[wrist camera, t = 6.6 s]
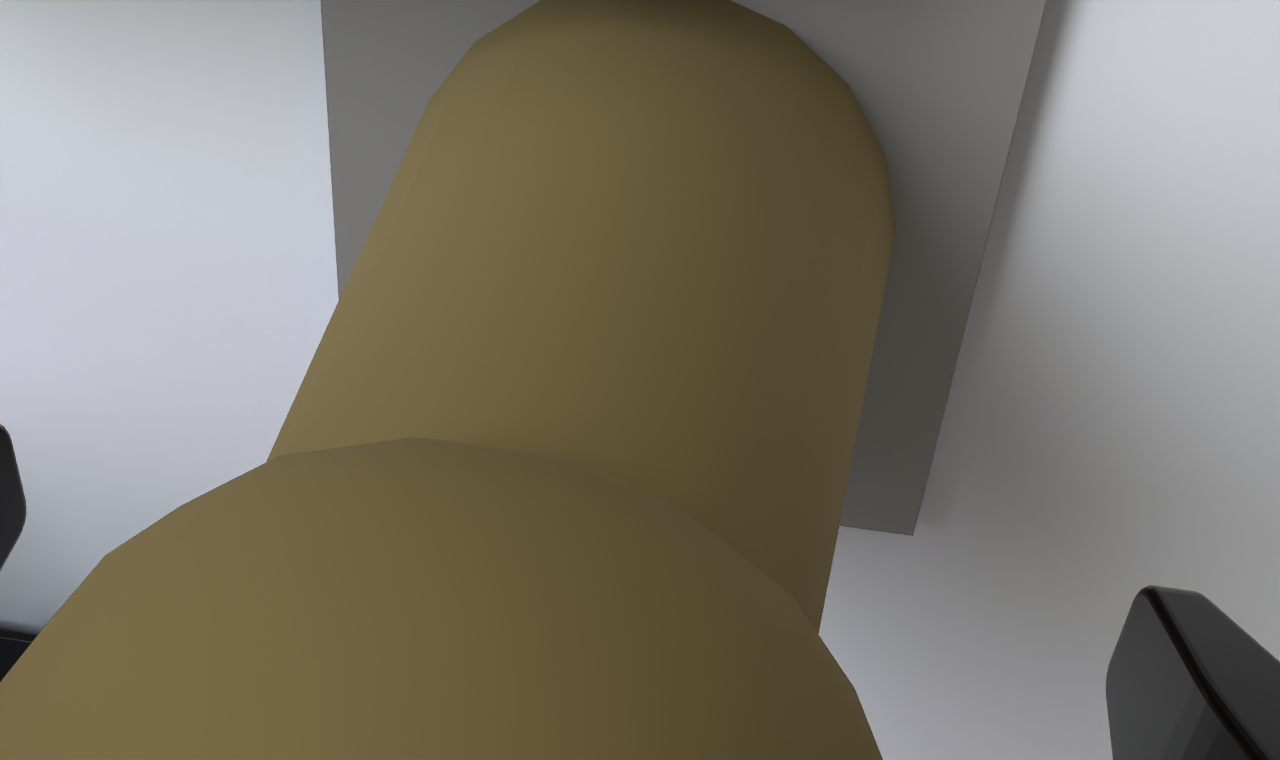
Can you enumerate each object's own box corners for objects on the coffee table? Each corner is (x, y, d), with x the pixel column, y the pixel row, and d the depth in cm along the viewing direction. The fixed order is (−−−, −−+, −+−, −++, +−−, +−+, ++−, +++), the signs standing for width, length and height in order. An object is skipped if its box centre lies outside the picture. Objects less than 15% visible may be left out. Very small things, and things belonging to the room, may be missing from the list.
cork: (446, 440, 17) (-43, 1441, 7) (362, -5, 14) (-677, 712, 4) (889, 442, 16) (996, 1594, 6) (903, -35, 13) (1151, 799, 3)
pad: (910, 518, 17) (912, 536, 16) (357, 441, 17) (348, 455, 17) (1058, -82, 13) (1064, -75, 12) (325, -158, 13) (311, -154, 13)
